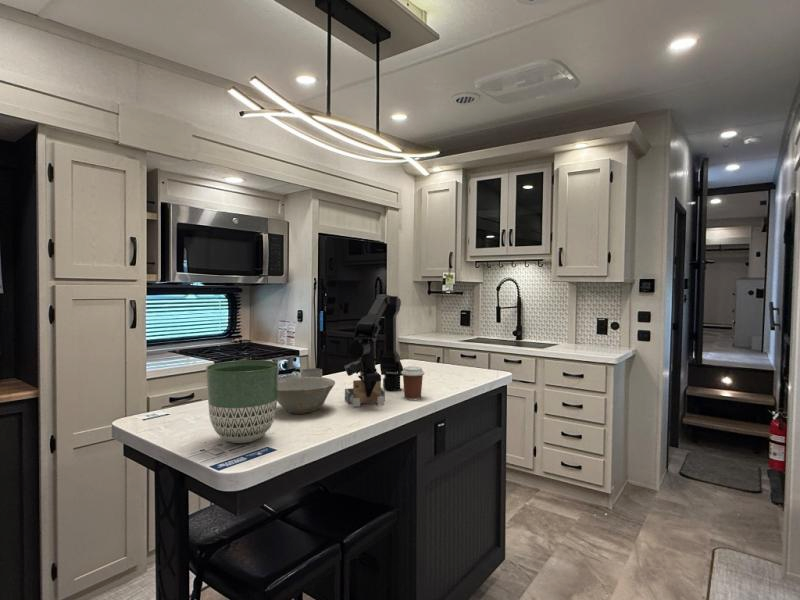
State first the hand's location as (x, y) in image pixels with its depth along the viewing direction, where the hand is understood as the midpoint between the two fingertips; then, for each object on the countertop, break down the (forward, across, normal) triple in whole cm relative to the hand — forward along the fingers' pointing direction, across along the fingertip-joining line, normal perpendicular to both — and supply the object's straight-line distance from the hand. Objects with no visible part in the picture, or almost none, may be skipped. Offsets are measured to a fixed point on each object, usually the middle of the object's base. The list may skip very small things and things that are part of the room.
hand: (367, 396), depth 174 cm
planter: (+3, +31, -42) cm, 52 cm away
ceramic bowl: (+3, +3, -24) cm, 24 cm away
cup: (+3, -20, -19) cm, 28 cm away
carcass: (+3, -4, 0) cm, 5 cm away
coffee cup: (+3, -5, +19) cm, 20 cm away
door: (+2, 0, 0) cm, 2 cm away
